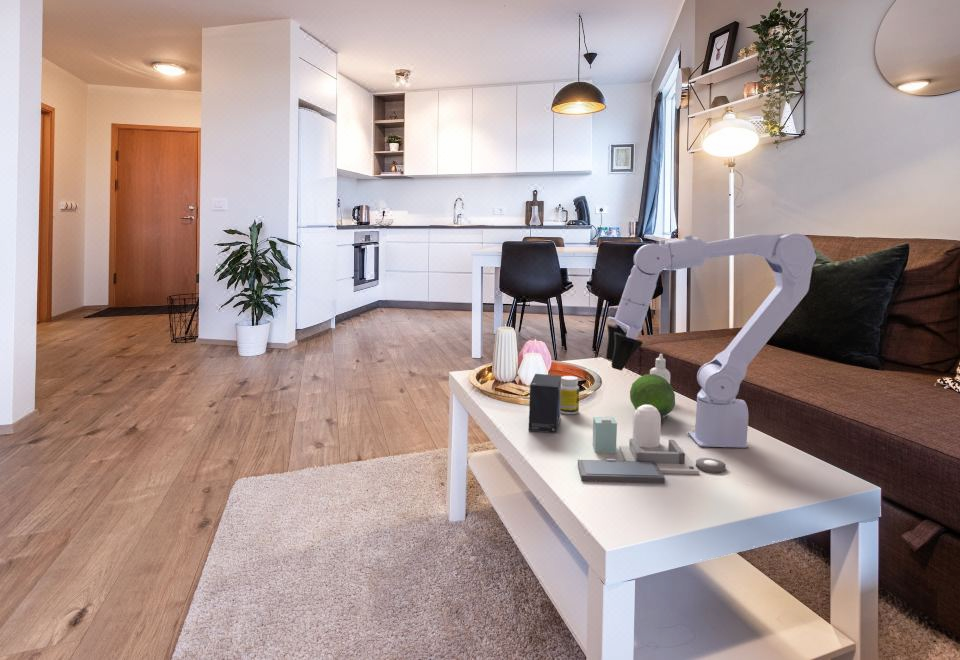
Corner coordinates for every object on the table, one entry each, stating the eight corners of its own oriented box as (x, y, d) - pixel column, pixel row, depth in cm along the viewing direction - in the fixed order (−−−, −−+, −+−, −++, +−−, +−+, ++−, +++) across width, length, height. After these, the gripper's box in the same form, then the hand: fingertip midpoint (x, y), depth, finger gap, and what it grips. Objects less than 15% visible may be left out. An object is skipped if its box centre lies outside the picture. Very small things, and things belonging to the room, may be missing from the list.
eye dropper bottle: (652, 402, 144) (654, 356, 142) (647, 396, 150) (649, 351, 148) (670, 402, 144) (672, 356, 142) (664, 396, 150) (666, 351, 148)
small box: (558, 433, 122) (559, 386, 120) (527, 431, 123) (528, 384, 121) (561, 418, 132) (562, 374, 130) (533, 416, 133) (533, 373, 132)
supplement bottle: (580, 414, 134) (581, 380, 133) (560, 414, 135) (560, 380, 133) (576, 408, 139) (577, 375, 138) (557, 408, 139) (558, 375, 138)
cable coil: (719, 462, 106) (720, 457, 106) (729, 473, 101) (729, 468, 101) (692, 461, 106) (692, 457, 106) (700, 472, 101) (700, 467, 101)
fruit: (625, 404, 143) (626, 365, 141) (666, 406, 141) (668, 366, 140) (632, 424, 128) (634, 380, 126) (678, 426, 126) (680, 382, 125)
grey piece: (681, 450, 112) (681, 438, 112) (699, 474, 101) (699, 460, 100) (619, 448, 113) (619, 436, 112) (630, 472, 102) (630, 459, 101)
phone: (655, 466, 104) (655, 459, 104) (664, 483, 97) (665, 475, 97) (577, 464, 105) (577, 457, 105) (581, 480, 98) (581, 473, 98)
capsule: (658, 439, 118) (660, 402, 117) (660, 448, 113) (662, 409, 112) (632, 437, 119) (633, 400, 118) (632, 446, 114) (634, 407, 113)
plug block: (612, 445, 115) (613, 414, 114) (615, 453, 111) (617, 420, 110) (592, 445, 115) (593, 413, 114) (595, 452, 111) (596, 420, 110)
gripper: (610, 291, 123) (591, 350, 126) (622, 301, 109) (599, 367, 111) (642, 301, 123) (621, 359, 126) (657, 312, 109) (634, 377, 111)
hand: (613, 364), depth 118 cm, fingers open, 7 cm apart
